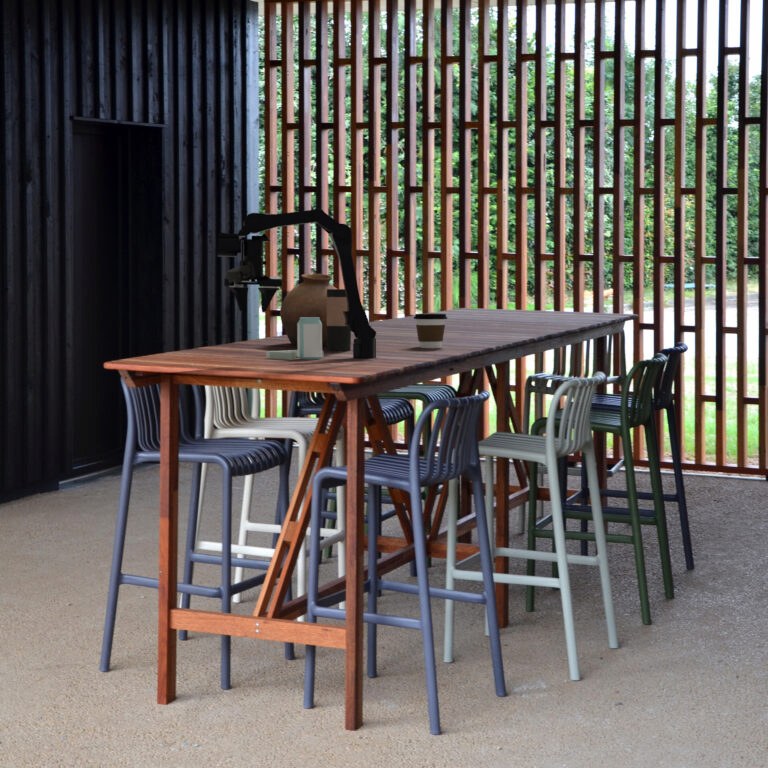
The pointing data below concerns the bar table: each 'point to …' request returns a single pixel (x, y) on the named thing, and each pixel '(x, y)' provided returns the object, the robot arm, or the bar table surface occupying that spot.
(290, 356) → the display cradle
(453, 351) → the bar table surface
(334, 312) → the travel mug
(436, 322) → the coffee cup
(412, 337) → the bar table surface
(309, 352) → the can
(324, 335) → the pottery
